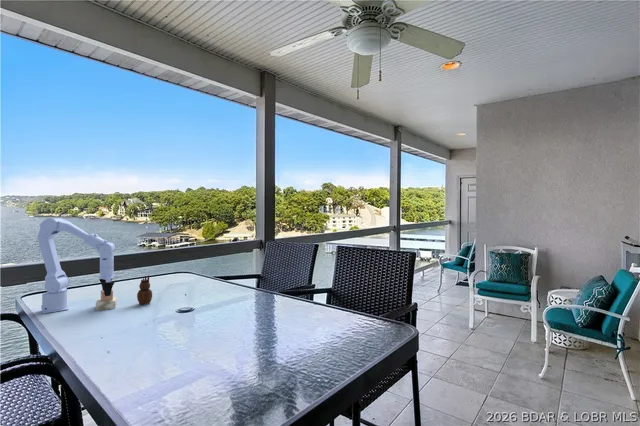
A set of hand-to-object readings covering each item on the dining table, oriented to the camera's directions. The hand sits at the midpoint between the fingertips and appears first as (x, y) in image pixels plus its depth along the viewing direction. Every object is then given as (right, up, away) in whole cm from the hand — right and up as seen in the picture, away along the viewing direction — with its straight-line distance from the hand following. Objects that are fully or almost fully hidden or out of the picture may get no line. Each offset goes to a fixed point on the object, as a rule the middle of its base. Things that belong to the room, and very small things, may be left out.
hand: (106, 294), depth 161 cm
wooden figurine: (+16, -7, +6) cm, 18 cm away
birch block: (0, -7, 0) cm, 7 cm away
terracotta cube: (0, -3, 0) cm, 3 cm away
